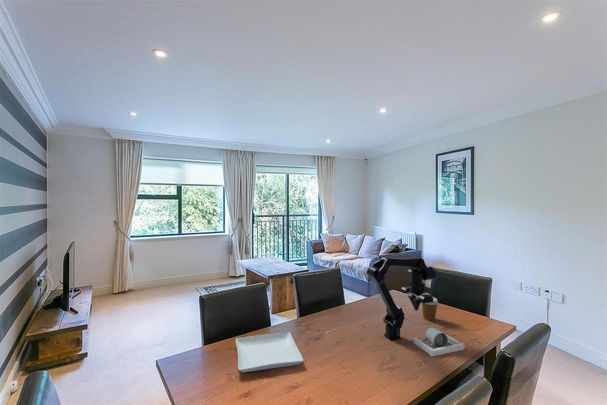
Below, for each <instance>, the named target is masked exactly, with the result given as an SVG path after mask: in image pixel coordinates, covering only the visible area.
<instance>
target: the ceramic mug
mask: <svg viewBox="0 0 607 405" xmlns="http://www.w3.org/2000/svg"><path fill="white" fill-rule="evenodd" d="M427 341H428V343H425V342H427ZM421 342H423V343H424V344H426V345H427V346H429V347H430V348H432V347H434V348H435V349H436V348H441V347H445V346H448V343H449V342H448V337H447V334H446V333H445V332H443V331H441V330H440V329H438V328H435V327H430V328H427V330H426V332H425V337H424V338H423V339H422V340H421Z"/></svg>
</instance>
